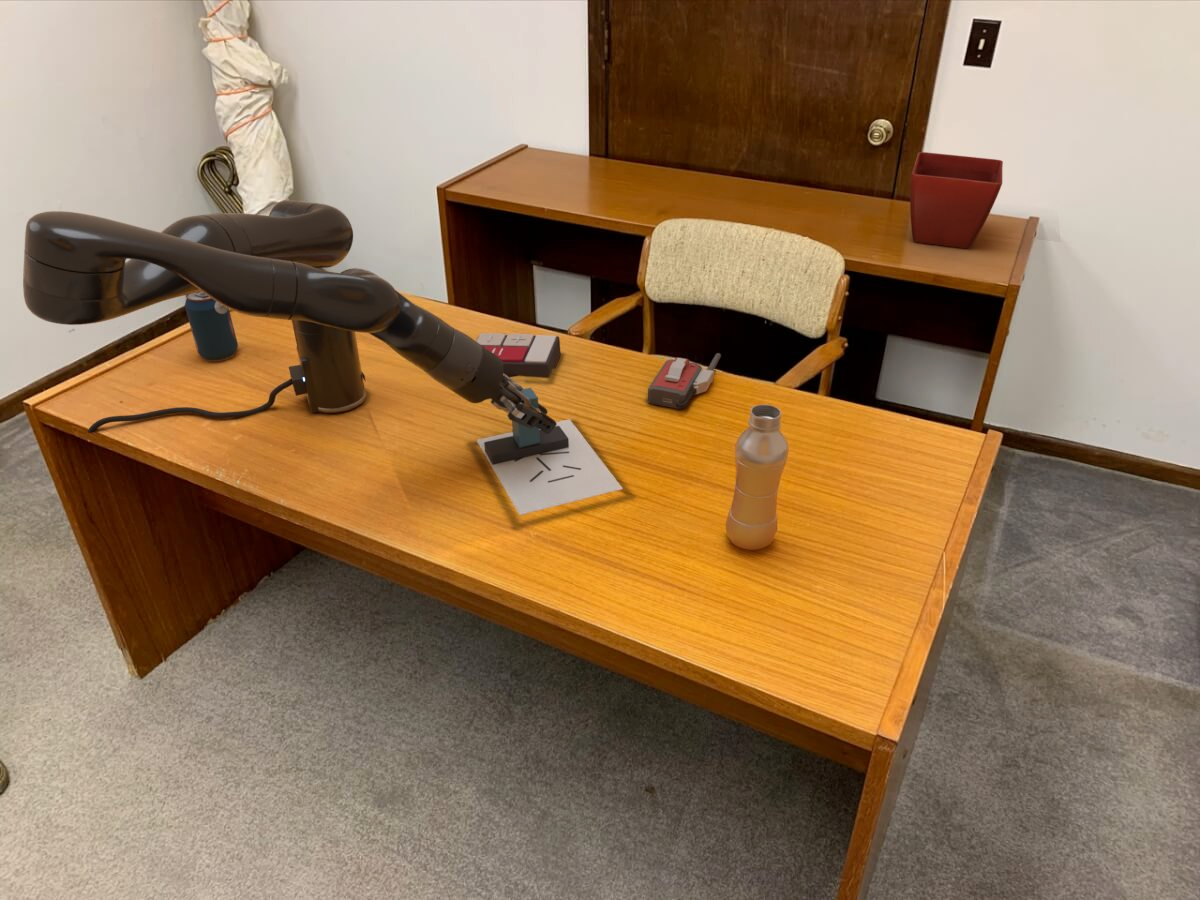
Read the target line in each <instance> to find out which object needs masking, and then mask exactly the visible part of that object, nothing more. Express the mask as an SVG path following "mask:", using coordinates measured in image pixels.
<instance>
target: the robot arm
mask: <svg viewBox="0 0 1200 900" xmlns="http://www.w3.org/2000/svg"><path fill="white" fill-rule="evenodd" d="M25 226H26V227H25V232H24V250H23V272H22V277H23V278H22V288H23V289H22V290H23V291H22V292H23V299H24V304H25V305H26V307H27V309H28V310H29V311H30V313H31V314H33V315H34V316H35V317H37V318H39V319H41V320H43V321H45V322H49V323H53V324H59V325H67V326H82V325H90V324H97V323H101V322H107V321H110V320H114V319H116V318H120V317H124V316H126V315H128V314H131V313H134V312H136V311H139V310H142V309H145V308H147V307H148V308H149V307H150V306H153V305H156V304H159V303H162V302H164V301H168V300H172V299H175V298H179V297H183V296H186V295H188V294H192V293H197V292H204V293H205V294H206V295H208V296H209V297H211V298H212V299H214V300H215V301H217V302H218V303H220V304H221V305H223V306H225V307H227V308H229V310H230V311H233V312H236V313H239V314H241V315H246V316H250V317H256V318H257V317H258V318H266V319H273V320H286V321H291V324H292V328H293V329H292V330H293V333H294V338H295V343H296V352H297V353H296V354H297V357H298V358H297V359H298V362H299V364H296V365H291V366H288V370H289V375H290V378H289V379H288V380H286V381H285V382H283V383H281V384H279V385H277V386H276V387H275V388H274V389H273V390H271V392H270V393H269V396H268V399H267V400H268V401H267V402H265V403H264V404H262V405H260V406H258V407H256V408H252V409H248V410H239V411H227V412H217V411H210V410H207V409H203V408H198V407H193V406H192V407H188V406H185V407H184V406H182V407H170V408H163V409H157V410H153V411H149V412H148V411H147V412H143V413H138V414H127V415H113V416H106V417H103V418H101V419H98V420H96V421H95V422H94V423H92V424H91V425H90V427H89V428H88V430H87V433H88V434H91V433H95V432H96V431H97V430H98V429H99V428H100V427H103V426H104V425H106V424H111V423H117V422H118V423H119V422H133V421H141V420H147V419H150V418H157V417H160V416H166V415H173V414H186V413H188V414H195V415H200V416H203V417H207V418H213V419H229V418H231V419H232V418H244V417H249V416H252V415H256V414H260V413H262V412H264V411H265V412H266V411H267V410H268V409H270V408H271V407H272V406H273V405H274V403H275V401H276V397H277V395H278V394H279V393H280V392H282V391H283V390H285V389H287V388H289V387H291V386H292V388H293V391H294V394H295V396H296V397H297V396H302V395H305V396H306V400H307V404H308V406H309V408H310V413H312V414H315V413H323V414H338V413H344V412H347V411H351V410H353V409H356V408H357V407H360V405H362V404H363V403H364V401H366V398H367V392H366V388H365V383H366V382H367V381H366V375H365V373H364V372H363V370H362V365H361V360H360V354H359V348H358V342H357V336H356V335H357V334H356V333H363V334H369V335H371V336H373V337H374V338H376V339H378V340H380V341H381V342H383V343H384V344H386V345H387V346H389V348H391V350H393V351H394V352H395V353H396V354H398V355H400V357H401V358H402V359H405V360H406V361H407V362H408V363H411V364H413V365H414V366H416V367H417V368H419V369H420V370H422V372H425V373H426V374H427V375H428V376H430V378H432V379H433V380H434V381H436V382H437V383H439V384H440V385H441V386H443V387H445V388H447V389H448V390H450V391H451V392H453V393H455V394H456V395H458V396H459V397H461V398H463V399H464V400H465V401H467V402H469V403H471V404H480V403H483V402H484V401H486V400H490V404H491V405H492V406H494V407H495V408H496V409H498V410H502V411H504V412H505V413H506V414H507V418H508V420H510V421H511V422H512V421H514V422H516V423H519V424H521V425H523V426H526V427H528V428H530V429H532V428H533V427H534V426H536V427H537V428H539V429H540V430H542V431H543V432H545V433H547V434H548V433H550V432H551V431H552V430H553V429H554V428H555V426H556V425H557V423H556V422H557V421H556V420H555V419H553V418H552V417H551V416H549V415H547V414H548V412H549V411H548V410H547V408H546V407H545V406H543V405H542V404H541V403H540V402H538V408H536V407H535V406H534V405H532V404H531V402H530V400H529V398H528V397H527V396H526V395H524V394H523V393H522V392H520V390H522V389H524V388H523V386H522V385H520V384H519V383H517V382H516V381H515V380H513V379H512V378H511V377H510V378H509V377H508V376H507V375H506V374H504V373H503V372H504V365H503V362H502V360H501V359H500V358H499V357H498V356H496V355H495V354H493V353H492V352H490V351H489V350H488V349H486V348H485V347H483V346H482V345H480V344H479V343H478V342H476V340H475V339H474V338H472V337H470V336H469V335H467V334H466V333H464V332H462V331H460V330H459V329H456V328H455V327H453V326H451V325H450V324H449V323H447V322H446V321H444V320H443V319H441V318H440V317H438V316H437V315H435V314H434V313H433V312H430V311H429V310H427V309H425V308H423V307H421V306H419V305H417V304H415V303H414V302H412V301H410V300H409V298H407V297H406V296H404V295H403V294H402V293H400V292H399V291H398V290H396V289H395V287H393V285H392V284H391V283H390V282H389V281H387V280H385V279H384V278H382V277H381V276H379V275H377V274H376V273H374V272H373V271H370V270H368V269H365V268H360V267H359V268H358V267H355V268H354V267H353V268H352V267H351V268H348V269H345V270H343V271H341V272H334V271H327V269H328V268H332V267H335V266H336V265H337V266H338V265H339V264H340V263H341V262H343V260H345V259H346V257H347V256H348V254H349V253H350V252H351V249H352V245H353V241H354V230H353V226H352V224H351V221H350V219H349V218H348V217H347V216H346V214H345V213H344V212H342V211H341V210H340V209H338V208H336V207H335V206H333V205H329V204H325V203H319V202H311V201H303V200H294V199H286V200H285V199H284V200H281V201H279V202H277V203H275V204H274V205H273V206H272V208H271V210H270V211H269V213H268V215H264V214H256V213H241V212H216V213H215V212H214V213H207V214H199V215H191V216H186V217H182V218H180V219H178V220H176V221H174V222H173V223H171V224H170V225H168V226H167V227H166V228H164V229H163V230H161V231H156V230H153V229H148V228H144V227H141V226H137V225H133V224H130V223H126V222H121V221H117V220H113V219H110V218H105V217H102V216H98V215H97V216H96V215H92V214H87V213H81V212H73V211H64V210H61V211H60V210H50V211H44V212H39V213H37V214H34V215H33V216H32V217H30V218H29V219H28V221H27V222H26V225H25ZM325 268H327V269H325ZM521 399H523V401H522V403H520V401H521Z"/></svg>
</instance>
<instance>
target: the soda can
mask: <svg viewBox="0 0 1200 900" xmlns="http://www.w3.org/2000/svg"><path fill="white" fill-rule="evenodd" d="M185 298H186V299H185V303H184V308H185V312H186V316H187V319H188V324H189V326H190V330H191V334H192V338H193V341H194V345H195V348H196V352H197V354H198V355H199V356H200V357H201V358H203V359H204V360H205V361H207V362H223V361H226V360H229V359H231V358H233V357H234V356H235V354H236V353H237V351H238V348H239V343H238V339H237V336H236V332H235V327H234V323H233V319H232V316H231V310H230V309H229V308H227V307H225V306H223V305H221V304H220V303H218V302H217V301H215V300H214V299H212V298H211V297H209V296H208V295H206V294H205V293H204V292H197V293H192V294H188V295H185Z"/></svg>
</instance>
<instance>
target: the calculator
mask: <svg viewBox="0 0 1200 900" xmlns="http://www.w3.org/2000/svg"><path fill="white" fill-rule="evenodd" d="M475 341H476V342H478V343H479V344H480V345H482V346H483V347H485V348H486V349H488V350H489V351H490V352H492V353H493V354H495V355H496V356H498V357H499V358H500V359H501V360H502V362H503V365H504V372H503V373H504V374H506V375H507V376H508V377H509V378H510V379H511V378H514V377H519V376H520V377H531V378H533V377H534V378H550V377H551V374H552V372H553V370H554V369H556V367H557V365H558V362H559V359H560V356H561V354H562V353H561V341H560V336H558V335H553V334H551V335H550V334H537V335H534V333H508V334H506V333H503V332H502V333H501V332H497V333H496V332H481V333H479V335H478V336H477V338H476V340H475Z"/></svg>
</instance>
